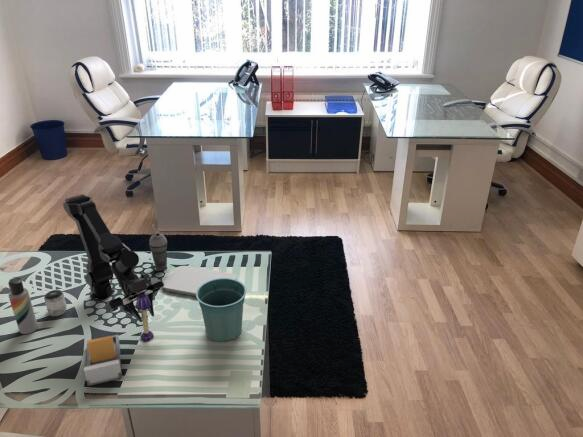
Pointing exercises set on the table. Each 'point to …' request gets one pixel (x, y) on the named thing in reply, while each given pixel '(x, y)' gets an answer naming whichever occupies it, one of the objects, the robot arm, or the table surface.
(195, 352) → the table surface
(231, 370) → the table surface
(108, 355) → the block
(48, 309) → the jar with dark lid
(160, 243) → the beverage cup
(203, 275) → the tablet
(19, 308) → the lotion bottle
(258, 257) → the table surface
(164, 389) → the table surface
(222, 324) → the flower pot
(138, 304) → the toy lamp
